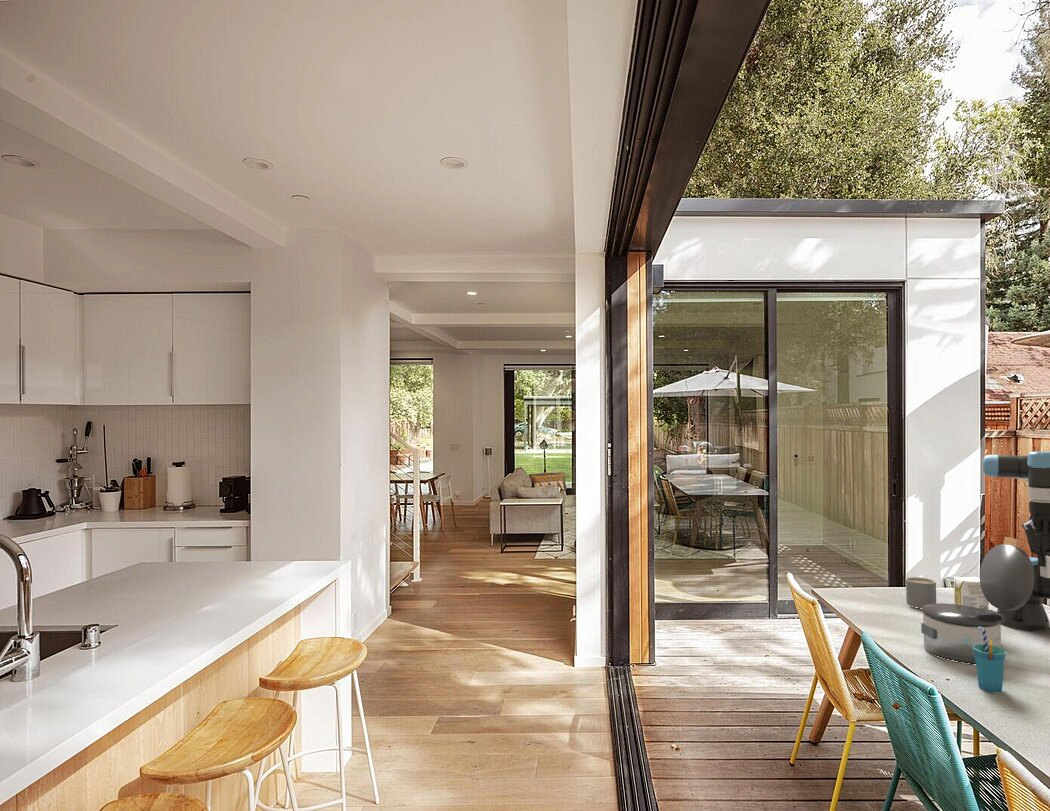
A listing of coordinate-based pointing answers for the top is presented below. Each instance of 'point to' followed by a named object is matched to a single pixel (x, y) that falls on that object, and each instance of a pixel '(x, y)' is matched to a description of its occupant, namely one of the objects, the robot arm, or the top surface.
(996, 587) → the cooker lid
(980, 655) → the cup
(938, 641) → the cooker
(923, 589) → the coffee mug
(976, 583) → the juice carton
